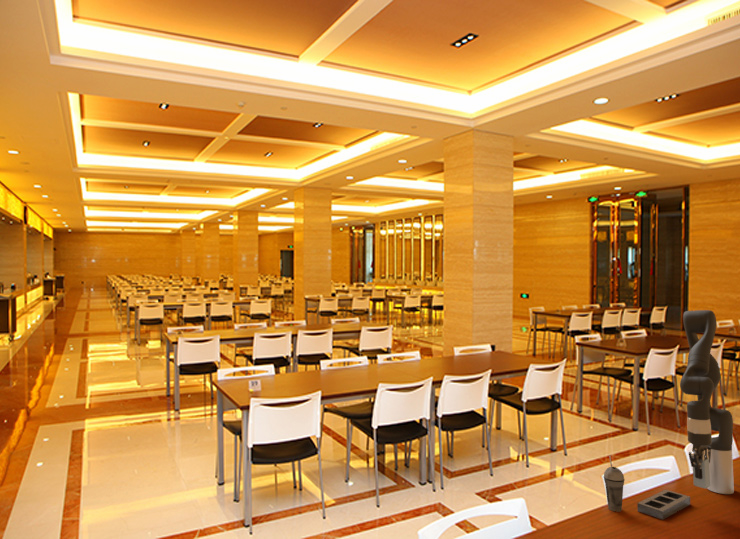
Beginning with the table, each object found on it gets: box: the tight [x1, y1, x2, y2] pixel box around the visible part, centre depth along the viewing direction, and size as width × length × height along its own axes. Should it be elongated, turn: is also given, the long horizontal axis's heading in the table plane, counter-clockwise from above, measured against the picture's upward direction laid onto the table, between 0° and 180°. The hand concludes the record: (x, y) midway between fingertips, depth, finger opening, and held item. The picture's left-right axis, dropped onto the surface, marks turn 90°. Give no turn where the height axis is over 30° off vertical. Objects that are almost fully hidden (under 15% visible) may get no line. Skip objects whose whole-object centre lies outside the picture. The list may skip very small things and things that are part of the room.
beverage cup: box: [603, 454, 625, 513], centre depth 192 cm, size 7×7×20 cm
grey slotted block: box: [637, 489, 691, 520], centre depth 193 cm, size 22×9×3 cm, turn 125°
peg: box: [692, 458, 710, 490], centre depth 188 cm, size 4×4×10 cm
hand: (701, 476), depth 188 cm, fingers closed on peg, 4 cm apart
